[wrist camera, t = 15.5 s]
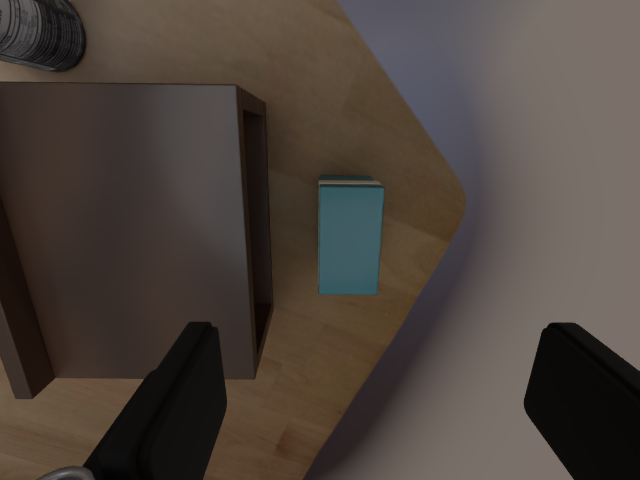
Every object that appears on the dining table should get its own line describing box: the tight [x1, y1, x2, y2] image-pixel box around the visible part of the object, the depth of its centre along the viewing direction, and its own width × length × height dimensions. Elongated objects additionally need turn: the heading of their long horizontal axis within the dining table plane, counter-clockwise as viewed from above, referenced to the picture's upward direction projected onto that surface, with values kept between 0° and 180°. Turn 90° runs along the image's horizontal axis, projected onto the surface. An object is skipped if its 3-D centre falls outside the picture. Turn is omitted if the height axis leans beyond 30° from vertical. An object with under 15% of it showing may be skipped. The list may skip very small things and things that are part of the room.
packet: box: [318, 175, 385, 295], centre depth 27 cm, size 5×8×7 cm, turn 179°
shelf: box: [0, 82, 273, 399], centre depth 25 cm, size 16×20×12 cm
